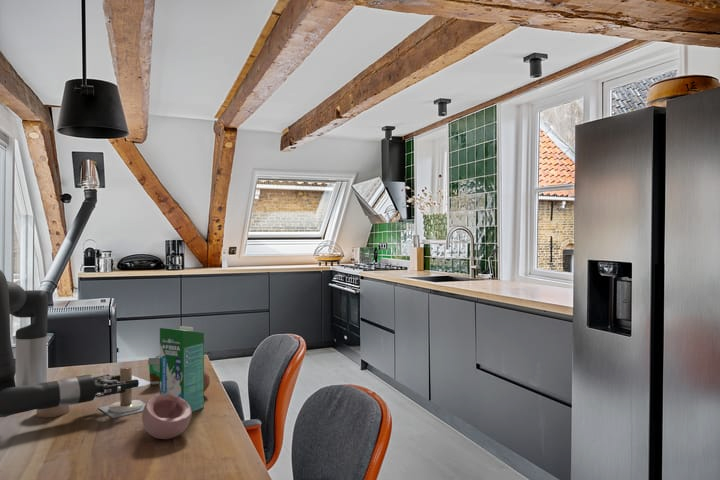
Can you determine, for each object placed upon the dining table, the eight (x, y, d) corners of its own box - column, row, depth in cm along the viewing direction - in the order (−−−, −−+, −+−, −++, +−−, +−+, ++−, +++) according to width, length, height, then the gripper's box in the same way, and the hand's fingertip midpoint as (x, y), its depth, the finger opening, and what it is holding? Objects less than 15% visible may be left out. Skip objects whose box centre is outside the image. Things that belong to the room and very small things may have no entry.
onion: (173, 398, 173) (173, 367, 173) (191, 391, 182) (191, 361, 182) (197, 402, 170) (197, 370, 170) (215, 394, 179) (215, 363, 179)
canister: (33, 412, 159) (33, 388, 159) (64, 406, 165) (64, 383, 165) (40, 419, 153) (40, 394, 153) (72, 412, 159) (72, 389, 159)
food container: (163, 388, 185) (164, 359, 185) (147, 387, 186) (147, 358, 186) (182, 379, 197) (182, 351, 197) (167, 378, 199) (167, 350, 198)
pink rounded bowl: (162, 450, 131) (162, 403, 131) (132, 440, 138) (132, 395, 138) (201, 435, 142) (201, 391, 142) (170, 426, 148) (170, 384, 148)
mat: (98, 408, 163) (98, 407, 163) (138, 400, 171) (138, 399, 171) (112, 418, 154) (112, 417, 154) (154, 409, 163) (154, 408, 163)
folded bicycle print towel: (73, 388, 187) (73, 381, 187) (130, 376, 203) (130, 370, 203) (98, 398, 175) (98, 392, 175) (156, 386, 190) (156, 379, 190)
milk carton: (204, 407, 165) (204, 325, 164) (182, 416, 156) (182, 329, 156) (181, 403, 168) (181, 323, 168) (159, 411, 160) (159, 327, 160)
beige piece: (104, 407, 163) (104, 367, 163) (135, 401, 169) (135, 363, 169) (115, 415, 156) (115, 373, 156) (147, 408, 163) (147, 368, 163)
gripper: (82, 382, 148) (141, 372, 159) (67, 372, 158) (123, 363, 169) (82, 409, 148) (141, 397, 159) (67, 398, 158) (123, 387, 169)
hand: (132, 380), depth 164 cm, fingers open, 8 cm apart
